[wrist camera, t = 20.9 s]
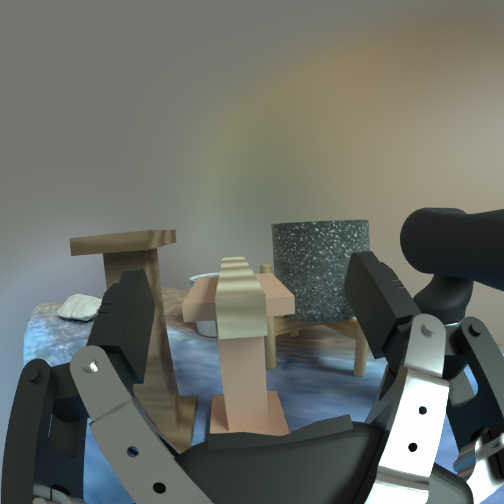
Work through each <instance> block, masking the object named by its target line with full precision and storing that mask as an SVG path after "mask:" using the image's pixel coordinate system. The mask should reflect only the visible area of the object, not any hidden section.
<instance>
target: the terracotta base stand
mask: <svg viewBox="0 0 504 504" xmlns="http://www.w3.org/2000/svg"><path fill="white" fill-rule="evenodd" d="M254 275H255V277H256V278H257V280H258V282H259V284H260V285H261V287H262V289H263V291H264V292H265V294H266V310H267V316H278V315H287V314H295V297H294V295H293V294H292V293H291V292H290V291H289V290H288V289H287V288H286V287H285V286H284V285H283V284H282V283H281V282H280V281H279V280H278V279H277V278H276V277H275V276H274V275H273V274H272V273H263V274H254ZM218 279H219V277H207V278H197V280H196V282H195V283H194V285H193V286H192V288H191V290H190V291H189V293H188V295H187V296H186V298H185V300H184V301H183V303H182V312H183V319H184V322H199V321H215V326H216V335H217V344H218V352H219V361H220V369H221V377H222V384H223V392H224V395H212V407H211V421H210V433H232V432H249V433H257V434H266V435H275V436H283V435H287V434H289V433H290V431H289V428H288V424H287V421H286V418H285V415H284V412H283V409H282V406H281V402H280V399H279V396H278V393H277V390H274V391H267V386H266V367H265V348H264V336H256V337H245V338H232V339H219V334H218V324H217V314H216V304H215V295H216V290H217V285H218Z"/></svg>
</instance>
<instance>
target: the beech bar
mask: <svg viewBox="0 0 504 504" xmlns="http://www.w3.org/2000/svg"><path fill="white" fill-rule="evenodd" d="M215 304H216V314H217V324H218V334H219V339H232V338H245V337H256V336H267V335H268V330H267V310H266V294H265V292H264V291H263V289H262V287H261V285H260V284H259V282H258V280H257V278H256V277H255V275H254V274H253V271H252V270H251V268H250V266H249V264H248V263H247V261H246V259H245V257H230V258H222V263H221V269H220V274H219V279H218V285H217V290H216V295H215Z"/></svg>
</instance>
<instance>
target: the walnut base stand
mask: <svg viewBox="0 0 504 504" xmlns="http://www.w3.org/2000/svg"><path fill="white" fill-rule="evenodd" d="M175 242H176V231H175V230H147V231H136V232H126V233H117V234H106V235H97V236H88V237H79V238H70V248H71V256H76V255H88V254H100V253H103V259H104V268H105V276H106V284H107V290H108V289H109V288H110V287H111V285H112V284H114V283H119V281H120V278H121V276H122V273H123V271H124V270H126V269H142V268H143V269H144V270H145V272H146V275H147V279H148V282H149V285H150V288H151V291H152V294H153V297H154V301H155V315H154V320H153V326H152V332H151V337H150V343H149V350H148V356H147V363H146V370H145V377H144V384H134V385H133V392H134V393H135V394H136V396H137V397H138V399H139V400H140V402H141V403H142V405H143V406H144V408H145V409H146V411H147V412H148V414H149V415H150V416H151V418H152V419H153V421H154V422H155V423H156V425H157V426H158V427H159V429H160V430H161V431H162V432H163V434H164V435H165V436H166V437H167V438H168V439H169V441H170V442H171V443H172V444H173V445H174V447H175V448H176V449H177V450H178V451H179V453H182V452H183V451H185V450H186V449H188V448H190V447H191V446H192V438H193V431H194V424H195V417H196V410H197V404H198V401H197V396H179V393H178V388H177V383H176V379H175V374H174V369H173V363H172V358H171V352H170V347H169V341H168V335H167V329H166V322H165V315H164V308H163V300H162V292H161V285H160V275H159V266H158V255H157V247H160V246H164V245H168V244H172V243H175Z"/></svg>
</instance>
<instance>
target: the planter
mask: <svg viewBox="0 0 504 504" xmlns="http://www.w3.org/2000/svg"><path fill="white" fill-rule="evenodd" d="M272 240H273V258H274V276H275V277H276V278H277V279H278V280H279V281H280V282H281V283H282V284H283V285H284V286H285V287H286V288H287V289H288V290H289V291H290V292H291V293H292V294H293V295H294V297H295V314H287V315H284V317H279V318H275V316H267V330H268V335H267V336H264V344H265V362H266V369H268V370H274V369H276V368H277V363H276V336H277V335H281V334H285V333H289V332H290V336H291V337H298V336H299V330H302V329H306V328H310V327H313V326H317V325H321V324H323V325H325V326H327V327H329V328H331V329H334V330H336V331H338V332H340V333H342V334H344V335H347V336H349V337H351V338H353V339H355V340H356V349H355V361H354V372H353V375H354V376H356V377H362V376H364V374H365V366H366V357H367V346H368V342H367V340H366V338H365V336H364V334H363V331H362V329H361V327H360V325H359V323H358V321H357V320H354V319H352V318H353V317H355V314H354V312H353V310H352V308H351V306H350V304H349V301H348V299H347V297H346V295H345V290H344V283H345V278H346V274H347V270H348V266H349V262H350V257H351V255H352V253H353V252H362V251H370V246H369V245H370V244H369V221H368V220H339V221H316V222H296V223H281V224H272ZM260 272H261V274H263V273H272V274H273V272H272V264H261V265H260Z"/></svg>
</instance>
